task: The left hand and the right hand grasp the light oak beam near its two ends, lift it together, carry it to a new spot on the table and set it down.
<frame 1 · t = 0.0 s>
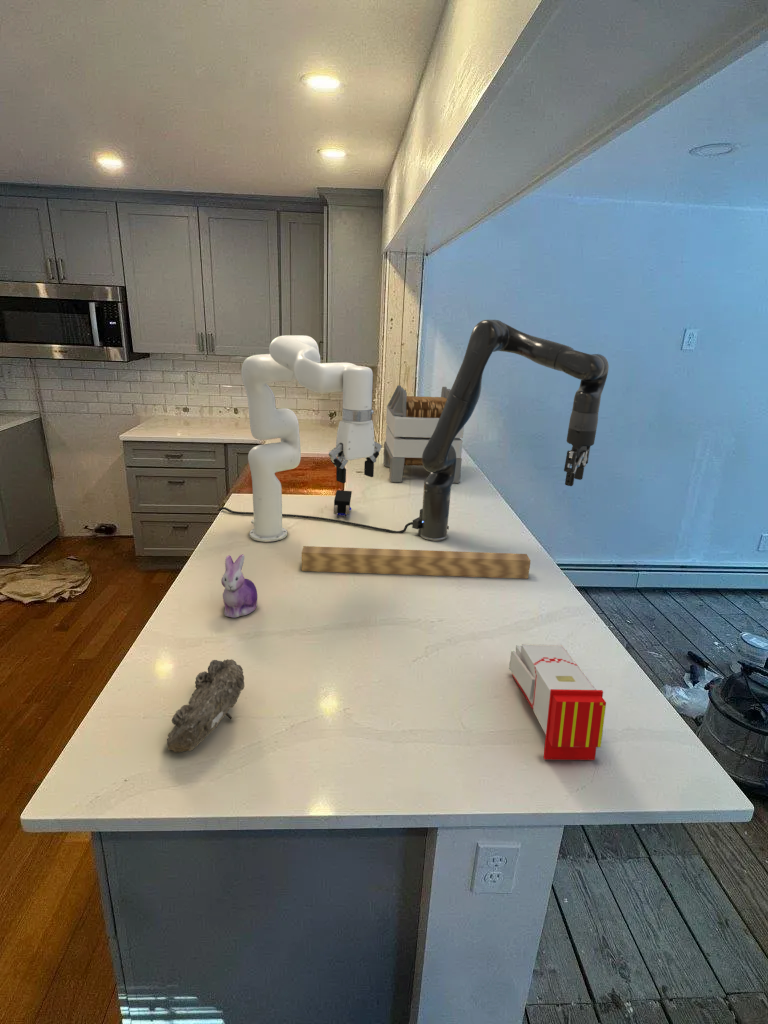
left hand: (355, 478, 152), 31 cm above the counter, tool pointing down, fingers open, 9 cm apart
right hand: (573, 482, 165), 29 cm above the counter, tool pointing down, fingers open, 8 cm apart
fossil: (212, 717, 108), on the counter
grey box with legs: (419, 473, 275), on the counter
toy: (546, 710, 114), on the counter
figurine character: (342, 514, 216), on the counter
beam: (414, 571, 172), on the counter
figurine: (240, 610, 146), on the counter
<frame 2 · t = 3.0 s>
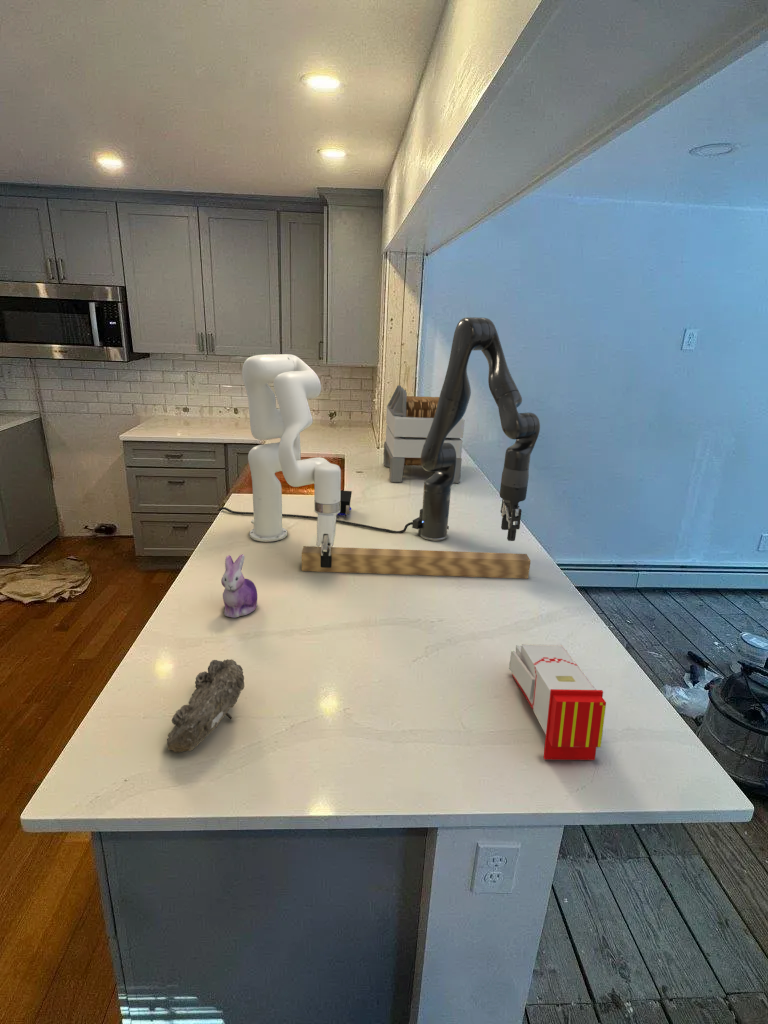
left hand: (326, 562, 171), 2 cm above the counter, tool pointing down, fingers closed on beam, 4 cm apart
right hand: (507, 534, 168), 13 cm above the counter, tool pointing down, fingers open, 8 cm apart
beam: (414, 571, 172), on the counter, touching left hand
everything else where it was.
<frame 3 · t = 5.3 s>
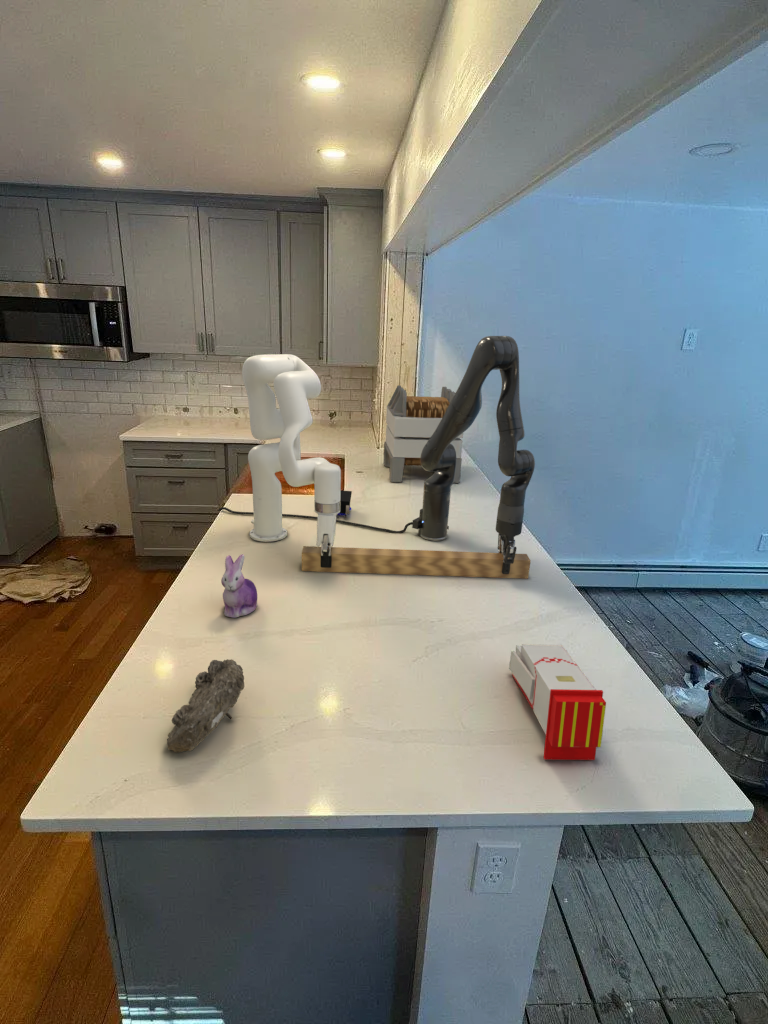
left hand: (326, 562, 171), 2 cm above the counter, tool pointing down, fingers closed on beam, 4 cm apart
right hand: (503, 569, 172), 2 cm above the counter, tool pointing down, fingers closed on beam, 5 cm apart
beam: (414, 571, 172), on the counter, touching right hand, left hand
everything else where it was.
when the left hand's fingers open (3 cm above the counter, at t = 13.1 s): beam stays where it is, on the counter.
when the right hand's fingers open (2 cm above the counter, at t = 13.1 s): beam stays where it is, on the counter.
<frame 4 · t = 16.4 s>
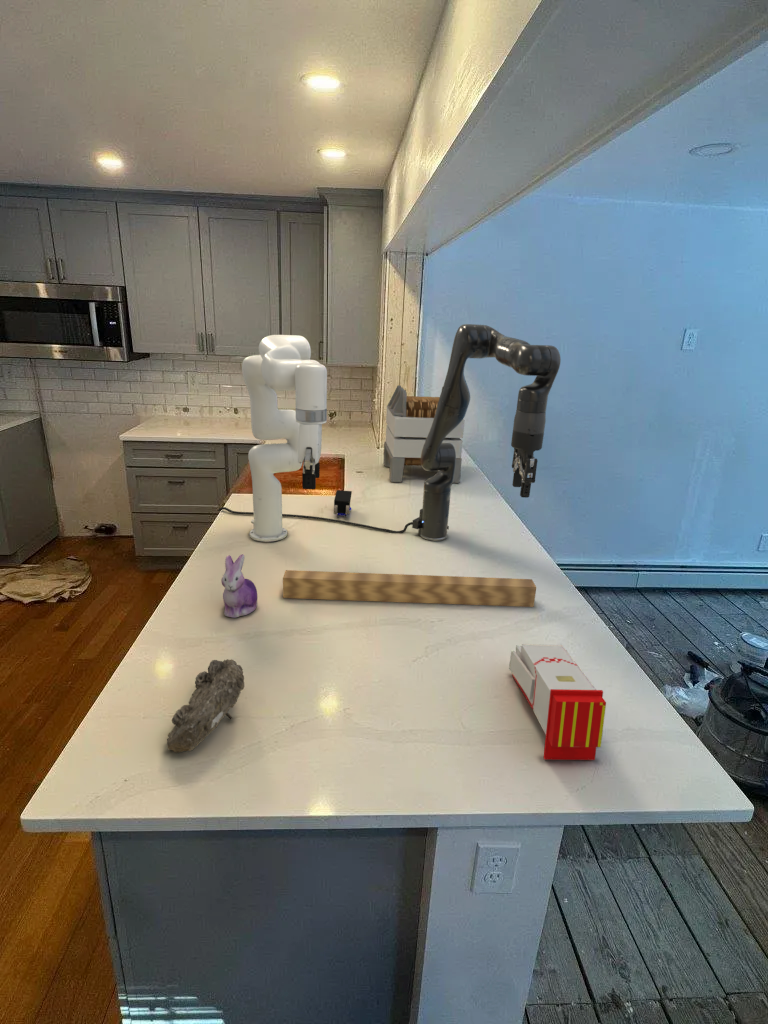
left hand: (311, 483, 144), 32 cm above the counter, tool pointing down, fingers open, 9 cm apart
right hand: (520, 491, 145), 32 cm above the counter, tool pointing down, fingers open, 8 cm apart
beam: (408, 598, 156), on the counter
everything else where it was.
at the end: beam inside the target area (0.4 cm from its centre), on the counter; beam tilted 0°; beam never tilted more than 2° during the clip; both hands held the beam at the same time; the left hand is holding nothing; the right hand is holding nothing; beam at rest at the end (0.0 cm/s) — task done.
